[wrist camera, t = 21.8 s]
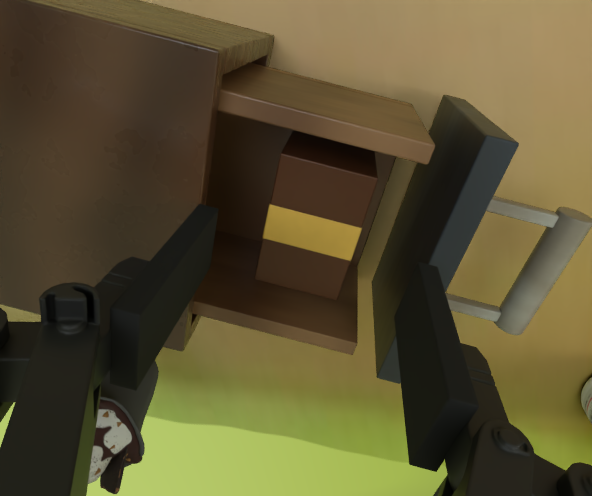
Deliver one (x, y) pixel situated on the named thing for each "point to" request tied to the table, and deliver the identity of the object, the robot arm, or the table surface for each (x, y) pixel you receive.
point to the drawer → (408, 225)
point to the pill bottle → (587, 399)
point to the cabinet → (105, 136)
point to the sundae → (120, 429)
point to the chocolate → (316, 214)
